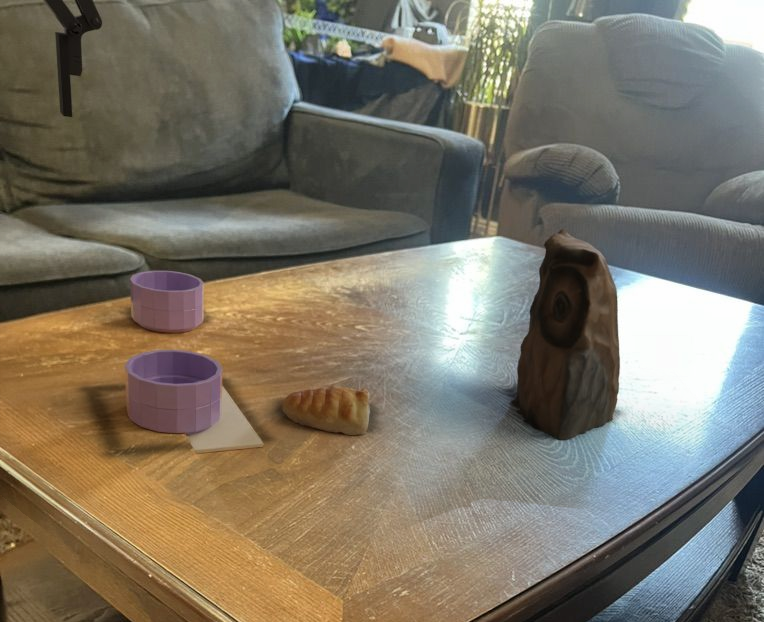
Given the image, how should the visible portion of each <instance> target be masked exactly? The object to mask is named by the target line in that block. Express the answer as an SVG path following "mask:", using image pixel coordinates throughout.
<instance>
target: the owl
mask: <svg viewBox="0 0 764 622" xmlns="http://www.w3.org/2000/svg"><path fill="white" fill-rule="evenodd" d="M543 247H544V248H545V253H544V257H543V260H542V261H541V264H540V266H539V269H538V274H539V276H538V277H539V285H538V289H537V291H536V293H535V295H534V297H533V301H532V303H531V305H530V307H529V323H528V331H527V334H526V335H525V336H524V338H523V339H522V341H521V344H520V346H519V347H520V349H519V350H520V355H519V358H518V361H517V367H516V374H517V384H516V385H517V386H516V395H515V396H514V398H512V399H511V401H510V403H511V404H512V405H513V406H515V407H517V410H516V412H517V413H518V414H519V415H521V416H522V417H523V420H522V421H523V423H525V424H527V425H529V426H531V427H532V428H533V429H535V430H538V431H541V432H544V433H546V434H547V435H550V436H551V437H553V438H555V439H556V440H561V441H567V440H572V439H573V438H575V437H577V435H580V434H581V435H583V434H586V433H587V432H588V431H591V430H593V429H595V428H601V427H604V426H605V425H606V424H607V423H610V422H611V421H613V420H614V418H613V417H614V412H615V410H616V407H617V404H618V394H619V392H620V372H621V357H620V337H619V319H618V318H619V315H618V313H619V312H618V311H619V309H618V307H619V306H618V302H619V301H618V290H617V285H616V284H615V281H614V278H613V275H612V272H611V270H610V268H609V265H608V263H607V259H606V258H605V256H604V255H603V254H602V253H601V251H600V250H598V249H597V248H596V247H594V246H593V245H591V244H590V243H589V242H587V241H585V240H581V239H579V238H575V237H574V236H572V235H571V234H570V233H568V230H567V229H566V228H562V229H560V230H559V231H558V232H557V233H553V234H552V235H551V236H550V237H549V238H548V239H546V241H544V244H543Z"/></svg>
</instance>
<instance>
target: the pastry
mask: <svg viewBox="0 0 764 622" xmlns="http://www.w3.org/2000/svg"><path fill="white" fill-rule="evenodd" d="M370 395H371V394H370V391H368V390H367V389H366V388H361V389H360V390H357V389H354V388H350V387H347V386H339V385H337V384H336V385H329V386H328V387H318V388H315V389H314V388H307V389H305V390H298V391H293V392H291V393H289V394H288V395H287V396H286V397H285V399H284V400H283V401H282V402H281V408H282V412H283V413H284V415H285V416H286V417H287V418H288V419H289V420H291V421H293V422H294V423H295V424H296V423H298V424H299V425H300V426H307V427H310V428H312V429H317V430H323V431H325V432H330V433H336V434H337V433H343V434H344V435H348V436H358V435H364V434H365V433H366V432H367V430H368V427H369V423H370V422H369V420H370V416H371V408H370Z"/></svg>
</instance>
